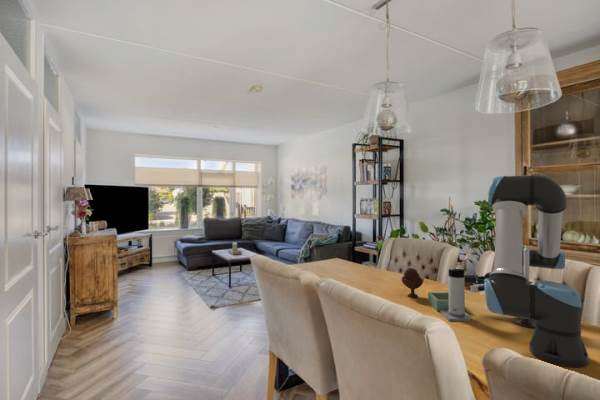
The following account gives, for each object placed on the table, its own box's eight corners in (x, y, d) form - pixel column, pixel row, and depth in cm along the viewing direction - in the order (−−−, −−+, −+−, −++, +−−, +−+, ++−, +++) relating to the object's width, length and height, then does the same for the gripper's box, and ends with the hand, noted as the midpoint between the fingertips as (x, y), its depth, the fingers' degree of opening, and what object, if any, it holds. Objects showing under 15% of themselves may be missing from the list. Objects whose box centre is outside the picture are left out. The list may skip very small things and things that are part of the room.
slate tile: (473, 321, 135) (473, 318, 135) (448, 320, 136) (448, 318, 136) (462, 312, 145) (462, 310, 145) (440, 312, 146) (440, 309, 146)
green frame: (464, 311, 146) (464, 300, 146) (436, 311, 147) (436, 300, 147) (453, 302, 158) (453, 292, 158) (428, 302, 159) (428, 292, 158)
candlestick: (505, 317, 138) (505, 235, 137) (534, 319, 136) (534, 236, 135) (518, 328, 127) (518, 239, 126) (549, 330, 125) (549, 239, 125)
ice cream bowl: (425, 300, 162) (425, 270, 161) (402, 299, 164) (402, 269, 164) (422, 293, 172) (422, 265, 172) (400, 292, 174) (400, 265, 174)
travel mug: (456, 318, 136) (456, 270, 135) (445, 312, 142) (445, 267, 142) (468, 316, 137) (468, 269, 137) (457, 311, 144) (457, 266, 143)
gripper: (523, 296, 135) (482, 302, 129) (475, 281, 159) (438, 285, 153) (523, 278, 135) (482, 283, 129) (474, 266, 159) (438, 269, 153)
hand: (458, 284), depth 141 cm, fingers open, 13 cm apart
